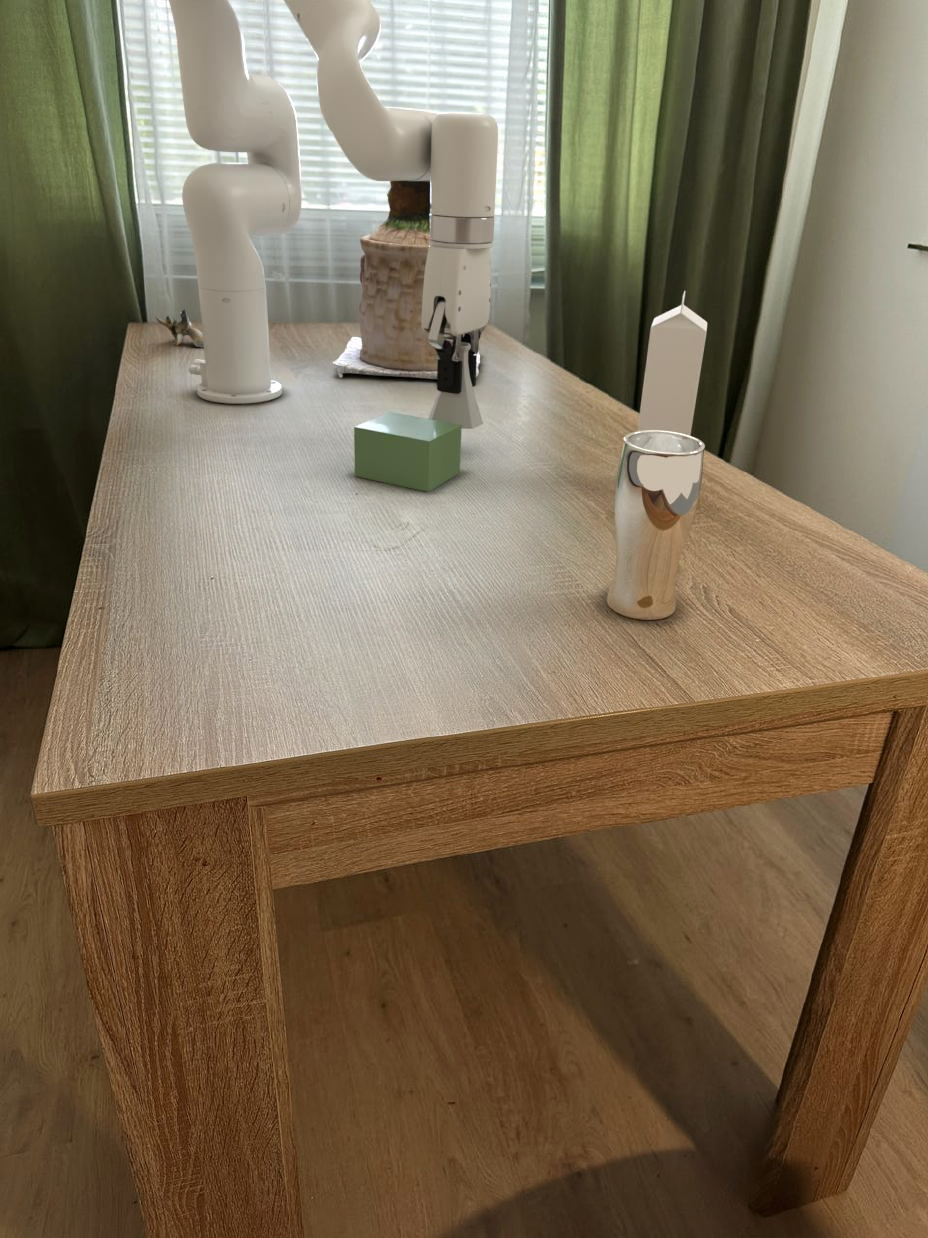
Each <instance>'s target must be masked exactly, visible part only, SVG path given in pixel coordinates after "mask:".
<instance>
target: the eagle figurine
mask: <svg viewBox="0 0 928 1238" xmlns="http://www.w3.org/2000/svg"><path fill="white" fill-rule="evenodd" d="M179 312H180V313H179V314H180V318H181V320H180V321H179V322H178V320H177V318H175V317H173V322H172V320H171V318H170V316H169V315H167V316H166V317H165V321H163V320H162V319H160V318H159V317H158V316H155V320H156V321H157V322H158V323H159V324H161V325H163V326H165V327H166V328H167V329H168V331H169V332H171V335H172V336H173V338H174V340H175V341H176V344H175V345H176V346H179V344H181V343H182V342H183V339H184V337H185V336H189V337H190V338H191V340H192V341H193V345H195V347H197V348H202V349H204V344H203V333H202V331H201V330H198V329H197V328H194V327H193V325H192V323H191V321H190V316H189V314H188V312H187V310H186V308H183V310H181V311H179Z"/></svg>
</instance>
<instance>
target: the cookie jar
mask: <svg viewBox="0 0 928 1238" xmlns="http://www.w3.org/2000/svg"><path fill="white" fill-rule="evenodd" d="M389 183H390V188H389V190H388V192H387V193H386V196H387V203H388V206H389V212H388V216H387V218H386V220H385V221H384V222H382V223H381V224H380V225H379V226H378V227H377V228H376V229H375V230H374V231H373V232H372V233H371V234H366V235H364V236H362V237H361V238H360V239H359V242H360V247H361V250H362V252H363V254H362V255H361V257H360V261H359V262H360V273H359V281H360V284H361V294H360V295H361V297H360V303H359V307H358V317H357V318H358V323H359V324H358V326H359V331H360V337H357V336H352V337H351V338H350V340H349V341H348V342H347V344H346V347H345V349H344V351H343V352H341V354H340V355H339V356H338V358H336V359H335V360H333V361H332V365H333V366H334V368H335V369H336V371H337V375H338V377H339V378H340V379H341V378H343V377H344V375H343V374H357V375H368V376H383V377H400V378H401V377H402V378H416V379H417V378H418V379H430V380H437V362H438V359H436V350H435V348H434V347H433V346H432V345H431V344H430V343H429V342H428V336H429V333H428V332H425V331H424V330H423V329H422V299H423V285H424V274H425V266H426V260H427V254H428V249H429V246H431V245H430V244H429V240H430V190H431V180H430V181H389ZM449 330H450V329H448V328H445V333H451V332H449ZM445 340H447V341H450V342H453V340H452V339H445ZM481 358H482V357H481V355H480V350H479V351H478V354H477V364H476V379H477V378H478V376H479V374H480V370H479V365H480V364H481Z"/></svg>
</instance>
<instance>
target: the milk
mask: <svg viewBox="0 0 928 1238" xmlns="http://www.w3.org/2000/svg"><path fill="white" fill-rule="evenodd" d="M681 298H682V299H681V304H680V305H678V306H677V307H674V308H672V309H670V310H668V311H665V312H664V313H661V314H660V315H657V316H655V317H654V318H653V321H652V323H651V326H650V332H649V339H648V346H647V354H646V362H645V369H644V377H643V385H642V391H641V393H642V394H641V401H640V408H639V416H638V423H637V431H643V430H663V431H672V432H678V433H682V434H686V435H690V436H692V434H691V433H692V428H693V422H694V415H695V409H696V404H697V403H696V401H697V397H698V395H697V394H698V390H699V389H698V388H699V383H700V377H701V370H702V363H703V359H704V358H703V357H704V351H705V345H706V338H707V332H708V331H707V330H708V321H706V320H705V319H704V318H702V316H700V315H698V314H697V313H696V312H694V311H693V310H692V309H690V308H689V307H688V306H686V305H685V298H686V290H684V291H683V294H682V297H681Z"/></svg>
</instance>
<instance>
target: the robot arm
mask: <svg viewBox="0 0 928 1238" xmlns="http://www.w3.org/2000/svg"><path fill="white" fill-rule="evenodd" d="M283 1H284V3H285V5H286V6H287V8H288V10H289V12H290V13H291V15H292V17H293V18H294V20H295V22H296V23H297V25H298V27H299V28H300V30H301V32H302V33H303V35H304V38H306V41H307V42H308V44H309V45H310V47H311V49H312V51H313V53H314V54H315V56H316V58H317V65H316V76H315V77H316V90H317V99H318V104H319V108H320V112H321V115H322V117H323V120H324V121H325V124H326V126H327V128H328V129H329V131H330V133H331V134H332V137H333V138H334V140H335V141H336V143H337V144H338V147H339V148H340V150H341V151H342V152H343V154H344V156H345V157H346V159H347V160H348V161H349V163H350V164H351V166H353V167H354V169H356V171H358V173H360V174H361V175H362V176H364V177H365V178H366V179H367V178H368V179H369V180H372V181H375V182H390V181H430V180H431V190H430V240H429V244H430V245H431V246H429V249H428V254H427V260H426V266H425V274H424V285H423V299H422V329H423V330H424V331H425V332H428V333H429V336H428V342H429V343H430V344H431V345H432V346H433V347H434V348H435V350H436V359H438V362H437V379H436V390H437V392H438V391H442V392H448V393H454V394H459V393H461V388H462V361H459V358H460V347H461V342H465V343H470V345H471V348H470V350H469V351H468V366H469V374H470V379H471V383H472V387H473V388H474V387H476V384H477V378H476V364H477V354H478V351H479V352H480V339H481V336H482V333H483V332H484V330H485V329H486V327H487V324H488V323H489V321H490V313H491V301H492V266H491V263H492V261H491V248H493V247H494V232H495V231H494V229H495V209H496V188H497V168H498V167H497V166H498V150H499V149H498V147H499V126H498V123H497V120H496V119H495V118H494V117H493V116H491V115H490V114H486V113H479V112H478V113H477V112H458V111H456V112H455V111H454V112H453V111H448V112H447V111H446V112H439V111H433V110H429V109H416V108H415V109H414V108H407V107H394V106H384V104H383V103H382V101H381V100H380V98H379V97H378V94H377V93H376V91H375V89H374V88H373V86H372V84H371V83H370V81H369V79H368V78H367V76H366V74H365V72H364V70H363V67H362V63H361V62H362V61H364V60H365V58H367V57H368V55H370V53H371V52H372V50H373V49H374V48H375V46H376V44H377V43H378V40H379V38H380V34H381V30H382V29H381V28H382V23H381V18H380V16H379V13H378V11H377V10H376V8H375V6H374V5H373V3H372V2H371V0H283ZM168 3H169V7H170V10H171V15H172V20H173V25H174V30H175V37H176V45H177V57H178V67H179V74H180V83H181V93H182V101H183V111H184V118H185V123H186V127H187V131H188V133H189V135H190V138H191V139H192V141H193V142H194V143H195V144H196V145H197V146H198V147H201V148H202V149H204V150H208V151H214V152H222V153H224V152H225V153H246V156H247V163H243V162H214V163H207V164H203V165H200V166H198V167H197V168H194V170H192V171H191V172H190V173H189V174H188V175H187V176H186V178H185V181H184V183H183V186H182V190H181V191H182V192H181V199H182V207H183V211H184V215H185V219H186V222H187V226H188V229H189V233H190V238H191V242H192V248H193V253H194V260H195V269H196V277H197V278H196V279H197V287H198V297H199V300H198V301H199V308H200V309H199V310H200V320H201V330H202V331H201V332H202V333H203V344H204V348H203V354H204V359H200V358H196V359H194V360H193V362H192V364H190V365H189V367H188V372H189V374H191V375H196V376H200V378H201V383H199V384H198V385H197V386H196V393H197V396H198V397H199V398H201V399H202V400H205V401H208V402H214V403H219V404H231V405H232V404H234V405H240V404H257V403H263V402H268V401H272V400H275V399H277V398H279V397H280V396H281V395H282V394H283V386H282V385H281V384H280V383H279V382H278V381H275V380H272V372H271V371H272V369H271V354H270V337H269V321H268V303H267V287H266V286H267V285H266V275H265V269H264V265H263V262H262V259H261V257H260V256H259V255H260V254H259V253H258V251H257V249H256V247H255V245H254V244H253V241H252V240H251V238H255V237H265V236H278V235H282V234H285V233H287V232H290V231H291V230H292V229H293V228H294V227H295V225H296V224H297V223H298V220H299V218H300V215H301V210H302V199H303V198H302V197H303V196H302V176H301V175H302V174H301V159H300V143H299V142H300V141H299V129H298V128H299V127H298V120H297V118H298V117H297V113H296V110H295V109H296V108H295V107H294V103H293V101H292V98H291V97H290V95H289V93H288V91H287V90H286V89H285V87H284V86H283V85H282V84H281V83H279V82H278V81H277V80H275V79H274V78H272V77H269V76H266V75H261V74H260V75H259V74H253V73H252V74H251V73H249V72H248V69H247V62H246V56H245V55H246V53H245V39H244V35H243V30H242V26H241V24H240V21H239V19H238V17H237V14H236V12H235V10H234V7H232V4H231V3H230V1H229V0H168ZM445 328H448V329H450V330H449V332H451V333H445ZM445 339H452V340H453V345H451V343H450V341H447V340H445Z"/></svg>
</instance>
